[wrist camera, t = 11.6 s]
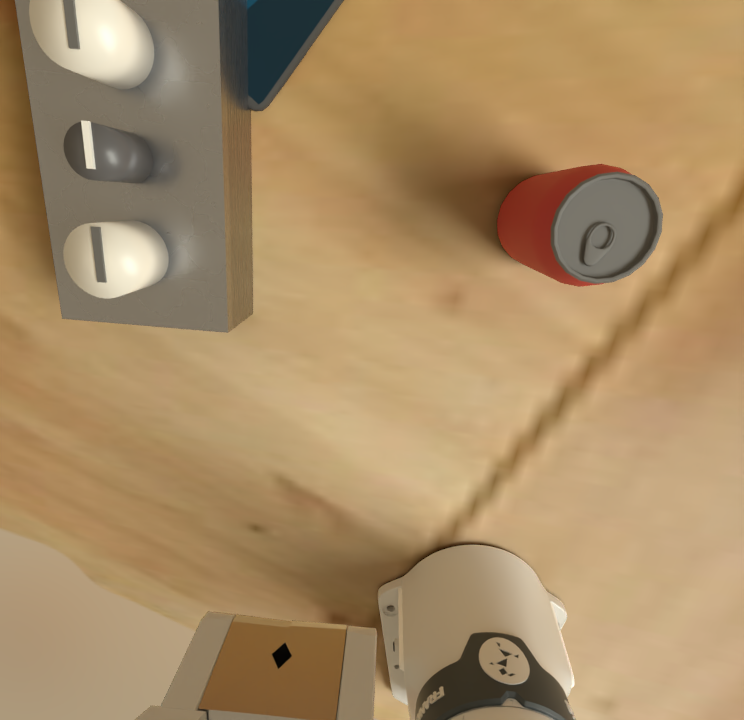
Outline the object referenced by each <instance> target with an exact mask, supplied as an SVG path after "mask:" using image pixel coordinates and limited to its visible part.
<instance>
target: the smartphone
mask: <svg viewBox="0 0 744 720" xmlns="http://www.w3.org/2000/svg"><path fill="white" fill-rule="evenodd" d="M343 1H344V0H247V43H248V106H249V108H250V109H252V110H254V111H263V110H264V109H265V108H267V107H268V106H269V105H270V103H271V102H272V101H273V99H274V98H275V96H276V95H277V94H278V92H279V91H280V90H281V88H282V87H283V86H284V84H285V83H286V81H287V80H288V79H289V77H290V76H291V74H292V73H293V72H294V70H295V69H296V67H297V66H298V65H299V63H300V62H301V60H302V59H303V58H304V56H305V55H306V53H307V51H308V50H309V49H310V47H311V46H312V44H313V43H314V42H315V40H316V39H317V37H318V36H319V34H320V33H321V32H322V30H323V29H324V27H325V26H326V25H327V23H328V22H329V20H330V19H331V18H332V16H333V15H334V13H335V12H336V11H337V9H338V8H339V6H340V5H341V4H342V2H343Z"/></svg>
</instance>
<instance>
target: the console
mask: <svg viewBox="0 0 744 720" xmlns="http://www.w3.org/2000/svg"><path fill="white" fill-rule="evenodd" d="M120 1H122V2H123V3H124V4H126V5H127V6H128V7H130V8H131V9H133V10H134V11H135V12H136V13H137V14H138V15H139V16H140V17H141V18H142V19H143V21H144V22H145V23H146V25H147V27H148V29H149V31H150V33H151V36H152V40H153V44H154V61H153V66H152V69H151V71H150V73H149V75H148V76H147V79H145V80H144V81H143V82H142V83H141V84H139V85H138V86H136V87H133V88H130V89H116V88H113V87H110V86H108V85H105V84H103V83H100V82H98V81H95V80H93V79H90V78H88V77H85V76H83V75H81V74H78V73H76V72H73V71H71V70H68V69H66V68H64V67H61V66H60V65H58V64H57V63H55V62H54V61H53V60H51V59H50V58H49V57H48V56H47V55H46V53H45V52H44V51H43V50H42V48H41V47H40V45H39V44H38V42H37V40H36V38H35V36H34V33H33V30H32V27H31V23H30V17H29V4H30V0H15V4H16V11H17V18H18V25H19V31H20V38H21V45H22V52H23V58H24V65H25V72H26V78H27V85H28V92H29V99H30V105H31V112H32V119H33V126H34V132H35V139H36V146H37V152H38V159H39V166H40V173H41V179H42V186H43V193H44V200H45V206H46V213H47V220H48V226H49V233H50V240H51V247H52V253H53V260H54V267H55V274H56V280H57V287H58V294H59V300H60V307H61V314H62V319H72V320H84V321H96V322H108V323H120V324H132V325H144V326H156V327H168V328H180V329H191V330H203V331H215V332H227V333H228V332H230V331H231V330H232V329H233V328H235V327H236V326H237V325H239V324H240V323H241V322H242V321H244V320H245V319H246V318H248V317H249V316H250V315H252V314H253V276H252V188H251V109H250V108H249V106H248V43H247V0H120ZM81 120H82V121H90V122H93V123H97V124H100V125H104V126H108V127H112V128H116V129H119V130H123V131H127V132H131V133H134V134H136V135H138V136H140V137H141V138H142V139H143V140H144V141H145V142H146V143H147V144H148V146H149V148H150V150H151V152H152V156H153V167H152V171H151V173H150V175H149V176H148V177H147V178H146V179H145V180H144V181H142V182H139V183H122V182H109V181H95V180H89V179H86V178H83V177H82V176H80V175H79V174H77V173H76V172H75V171H74V170H73V169H72V168H71V166H70V165H69V163H68V161H67V159H66V157H65V153H64V146H63V145H64V138H65V135H66V133H67V131H68V129H69V128H70V127H71V126H72V125H74V124H76V123H78V122H81ZM128 220H134V221H139V222H142V223H145V224H147V225H149V226H150V227H152V228H153V229H154V230H155V231H156V232H157V233H158V234H159V235H160V236H161V238H162V239H163V241H164V243H165V245H166V247H167V251H168V256H169V263H168V268H167V271H166V273H165V275H164V276H163V278H162V279H161V280H160V281H159V282H157V283H156V284H154V285H152V286H149V287H146V288H143V289H140V290H137V291H134V292H131V293H128V294H125V295H122V296H119V297H116V298H110V299H105V298H99V297H95V296H93V295H90V294H89V293H87V292H85V291H84V290H82V289H81V288H80V287H79V286H78V285H77V284H76V283H75V282H74V281H73V279H72V278H71V277H70V275H69V273H68V271H67V269H66V266H65V262H64V255H63V252H64V245H65V242H66V239H67V237H68V236H69V234H70V233H71V232H72V231H73V230H74V229H75V228H77V227H78V226H80V225H83V224H87V223H97V222H113V221H128Z"/></svg>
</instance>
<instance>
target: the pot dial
mask: <svg viewBox="0 0 744 720" xmlns="http://www.w3.org/2000/svg"><path fill="white" fill-rule="evenodd" d="M63 146H64V153H65V157H66V159H67V161H68V163H69V165H70V166H71V168H72V169H73V170H74V171H75V172H76V173H77V174H79V175H80V176H82V177H83V178H86V179H89V180H95V181H109V182H122V183H139V182H142V181H144V180H145V179H146V178H147V177H148V176H149V175H150V173H151V171H152V167H153V156H152V152H151V150H150V148H149V146H148V144H147V143H146V142H145V141H144V140H143V139H142V138H141V137H140V136H138V135H136V134H134V133H131V132H127V131H123V130H119V129H116V128H112V127H108V126H104V125H100V124H97V123H93V122H90V121H82V120H81V122H78V123H76V124H74V125H72V126H71V127H70V128H69V129H68V131H67V133H66V135H65V138H64V145H63Z"/></svg>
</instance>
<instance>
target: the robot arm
mask: <svg viewBox="0 0 744 720" xmlns="http://www.w3.org/2000/svg"><path fill="white" fill-rule="evenodd" d="M378 604H379V611H380V618H381V624H382V631H383V638H384V644H385V651H386V657H387V664H388V671H389V677H390V684H391V690H392V695H393V697H394V698H396V699H397V700H399V701H400V702H402V703H404V704H406V705H408V709H409V716H410V720H576V719H575V716H574V713H573V711H572V708H571V707H570V705H569V702H568V699H567V697H568V696H569V694H570V691H571V688H572V687H573V686H574V675H573V672H572V668H571V665H570V661H569V658H568V655H567V651H566V648H565V644H564V641H563V638H562V634H561V631H560V630H561V629H562V627H563V625H564V623H565V621H566V619H567V613H566V609H565V606H564V604H563V603H562V602H561V601H560V600H559V599H558V598H556V597H555V596H553V595H552V594H550V593H549V592H547V591H546V590H545V588H544V587H543V586H542V584H541V582H540V580H539V578H538V577H537V575H536V573H535V572H534V571H533V570H532V568H531V567H530V566H529V565H528V564H527V563H525V562H524V561H523V560H522V559H520V558H519V557H517V556H515V555H513V554H512V553H509V552H507V551H505V550H502V549H499V548H495V547H491V546H485V545H461V546H454V547H450V548H446V549H443V550H440V551H438V552H435V553H433V554H431V555H429V556H428V557H426V558H424V559H423V560H422V561H420V562H419V563H418V564H417V565H416V566H414V567H413V568H412V569H411V570H410V571H409V572H408V573H407V574H406V575H404V576H403V577H401V578H398V579H396V580H393V581H391V582H389V583H386V584H384V585H383V586H381V587H380V588H379V590H378ZM389 605H392V606H389ZM376 647H377V631H376V628H367V627H357V626H348V629H347V625H341V624H329V623H317V622H305V621H293V620H292V621H285V620H277V619H269V618H261V617H253V616H246V615H238V614H237V615H236V614H227V613H219V612H210V611H208V612H207V613H206V615H205V616H204V617H203V618H202V619H201V621H200V624H199V626H198V628H197V630H196V632H195V634H194V637H193V639H192V641H191V643H190V645H189V647H188V649H187V651H186V653H185V656H184V658H183V660H182V662H181V664H180V666H179V668H178V671H177V672H176V675H175V677H174V679H173V681H172V683H171V685H170V688H169V690H168V692H167V694H166V696H165V698H164V700H163V703H162V704H161V706H150V707H149V708H148V709H147V710H146V711H144V712H143V713H142V714H141V715H140V716H138V717H137V718H136V719H135V720H373V716H374V693H375V670H376Z"/></svg>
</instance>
